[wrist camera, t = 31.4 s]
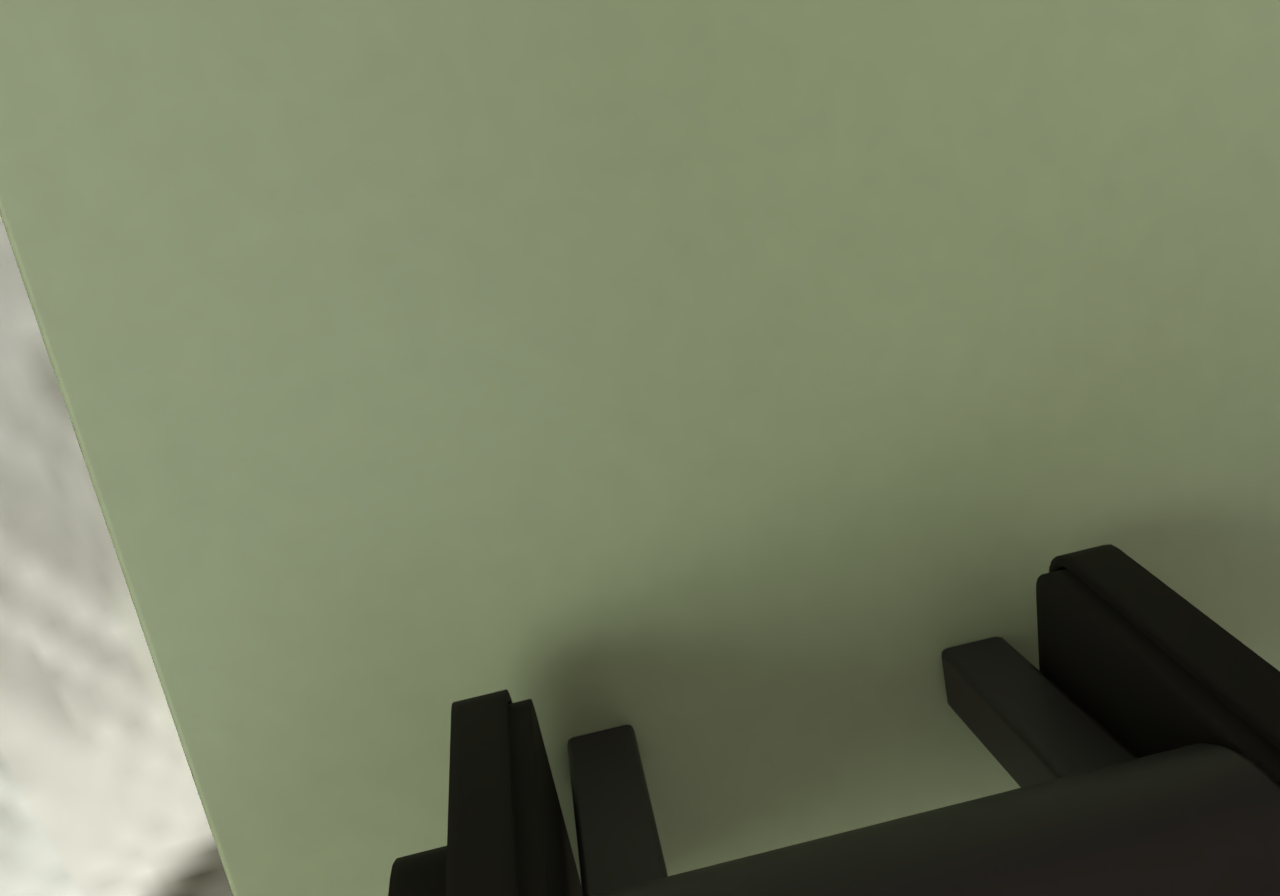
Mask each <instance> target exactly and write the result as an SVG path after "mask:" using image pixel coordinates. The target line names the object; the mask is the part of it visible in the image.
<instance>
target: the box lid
mask: <svg viewBox="0 0 1280 896" xmlns="http://www.w3.org/2000/svg"><path fill="white" fill-rule="evenodd" d="M0 215H1V218H2V220H3V223H4V226H5V229H6V232H7V235H8V238H9V241H10V244H11V247H12V250H13V253H14V256H15V259H16V261H17V264H18V267H19V270H20V273H21V276H22V279H23V282H24V285H25V288H26V291H27V294H28V297H29V299H30V302H31V305H32V308H33V311H34V314H35V317H36V320H37V323H38V326H39V329H40V332H41V335H42V337H43V340H44V343H45V346H46V349H47V352H48V355H49V358H50V361H51V364H52V367H53V370H54V373H55V375H56V378H57V381H58V384H59V387H60V390H61V393H62V396H63V399H64V402H65V405H66V408H67V411H68V413H69V416H70V419H71V422H72V425H73V428H74V431H75V434H76V437H77V440H78V443H79V446H80V449H81V451H82V454H83V457H84V460H85V463H86V466H87V469H88V472H89V475H90V478H91V481H92V484H93V487H94V489H95V492H96V495H97V498H98V501H99V504H100V507H101V510H102V513H103V516H104V519H105V522H106V525H107V527H108V530H109V533H110V536H111V539H112V542H113V545H114V548H115V551H116V554H117V557H118V560H119V563H120V566H121V568H122V571H123V574H124V577H125V580H126V583H127V586H128V589H129V592H130V595H131V598H132V601H133V604H134V606H135V609H136V612H137V615H138V618H139V621H140V624H141V627H142V630H143V633H144V636H145V639H146V642H147V644H148V647H149V650H150V653H151V656H152V659H153V662H154V665H155V668H156V671H157V674H158V677H159V680H160V682H161V685H162V688H163V691H164V694H165V697H166V700H167V703H168V706H169V709H170V712H171V715H172V718H173V720H174V723H175V726H176V729H177V732H178V735H179V738H180V741H181V744H182V747H183V750H184V753H185V756H186V758H187V761H188V764H189V767H190V770H191V773H192V776H193V779H194V782H195V785H196V788H197V791H198V794H199V796H200V799H201V802H202V805H203V808H204V811H205V814H206V817H207V820H208V823H209V826H210V829H211V832H212V835H213V837H214V840H215V843H216V846H217V849H218V852H219V855H220V858H221V861H222V864H223V867H224V870H225V873H226V875H227V878H228V881H229V884H230V887H231V890H232V893H233V896H388V893H389V883H390V875H391V870H392V865H393V863H394V861H395V860H396V858H399V857H403V856H407V855H411V854H415V853H419V852H423V851H427V850H431V849H435V848H439V847H443V846H447V830H448V798H449V765H450V732H451V707H452V703H453V702H456V701H460V700H464V699H468V698H473V697H477V696H481V695H485V694H489V693H493V692H497V691H502V690H506V689H507V690H508V692H509V694H510V697H511V700H512V703H515V702H519V701H523V700H527V699H531V700H532V702H533V705H534V708H535V711H536V715H537V719H538V723H539V727H540V730H541V734H542V738H543V742H544V746H545V749H546V753H547V757H548V761H549V765H550V768H551V772H552V776H553V780H554V783H555V787H556V791H557V795H558V799H559V802H560V806H561V810H562V814H563V818H564V821H565V825H566V829H567V833H568V837H569V840H570V844H571V848H572V852H573V856H574V859H575V863H576V867H577V871H578V875H579V878H580V882H581V886H582V895H583V896H1280V785H1279V784H1278V783H1277V782H1276V781H1275V780H1274V779H1273V778H1272V777H1271V776H1270V775H1269V774H1268V773H1267V772H1266V771H1265V770H1263V769H1262V768H1261V767H1260V766H1259V765H1257V764H1256V763H1255V762H1253V761H1252V760H1250V759H1249V758H1247V757H1246V756H1244V755H1243V754H1241V753H1239V752H1237V751H1235V750H1233V749H1230V748H1227V747H1224V746H1220V745H1214V744H1206V743H1199V744H1193V745H1189V746H1185V747H1181V748H1177V749H1173V750H1169V751H1165V752H1161V753H1157V754H1153V755H1149V756H1145V757H1141V758H1138V757H1137V756H1136V755H1134V754H1133V753H1132V752H1131V751H1130V750H1129V749H1128V748H1126V747H1125V746H1124V745H1123V744H1122V743H1121V742H1120V741H1119V740H1117V739H1116V738H1115V737H1114V736H1113V735H1112V734H1111V733H1110V732H1108V731H1107V730H1106V729H1105V728H1104V727H1103V726H1102V725H1100V724H1099V723H1098V722H1097V721H1096V720H1095V719H1094V718H1093V717H1091V716H1090V715H1089V714H1088V713H1087V712H1086V711H1085V710H1084V709H1082V708H1081V707H1080V706H1079V705H1078V704H1077V703H1076V702H1074V701H1073V700H1072V699H1071V698H1070V697H1069V696H1068V695H1067V694H1065V693H1064V692H1063V691H1062V690H1061V689H1060V688H1059V687H1057V686H1056V685H1055V684H1054V683H1053V682H1052V681H1051V680H1050V679H1048V678H1047V677H1046V676H1045V675H1044V674H1043V673H1042V672H1041V671H1039V650H1038V627H1037V604H1036V582H1037V579H1038V577H1039V576H1040V575H1042V574H1046V573H1049V567H1050V564H1051V561H1052V560H1053V559H1054V558H1055V557H1056V556H1060V555H1064V554H1068V553H1072V552H1076V551H1080V550H1084V549H1089V548H1093V547H1097V546H1101V545H1109V544H1111V545H1113V546H1115V547H1117V548H1119V549H1120V550H1122V551H1123V552H1124V553H1125V554H1127V555H1128V556H1129V557H1131V558H1132V559H1133V560H1135V561H1136V562H1137V563H1139V564H1140V565H1141V566H1142V567H1144V568H1145V569H1146V570H1148V571H1149V572H1150V573H1152V574H1153V575H1154V576H1156V577H1157V578H1158V579H1159V580H1161V581H1162V582H1163V583H1165V584H1166V585H1167V586H1169V587H1170V588H1171V589H1173V590H1174V591H1175V592H1176V593H1178V594H1179V595H1180V596H1182V597H1183V598H1184V599H1186V600H1187V601H1188V602H1190V603H1191V604H1192V605H1193V606H1195V607H1196V608H1197V609H1199V610H1200V611H1201V612H1203V613H1204V614H1205V615H1207V616H1208V617H1209V618H1210V619H1212V620H1213V621H1214V622H1216V623H1217V624H1218V625H1220V626H1221V627H1222V628H1224V629H1225V630H1226V631H1227V632H1229V633H1230V634H1231V635H1233V636H1234V637H1235V638H1237V639H1238V640H1239V641H1241V642H1242V643H1243V644H1244V645H1246V646H1247V647H1248V648H1250V649H1251V650H1252V651H1254V652H1255V653H1256V654H1258V655H1259V656H1260V657H1261V658H1263V659H1264V660H1265V661H1267V662H1268V663H1269V664H1271V665H1272V666H1273V667H1275V668H1276V669H1277V670H1278V671H1280V0H0Z"/></svg>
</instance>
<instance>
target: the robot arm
mask: <svg viewBox="0 0 1280 896" xmlns="http://www.w3.org/2000/svg"><path fill="white" fill-rule="evenodd" d="M1036 604H1037V627H1038V650H1039V671H1041V672H1042V673H1043V674H1044V675H1045V676H1046V677H1047V678H1048V679H1050V680H1051V681H1052V682H1053V683H1054V684H1055V685H1056V686H1057V687H1059V688H1060V689H1061V690H1062V691H1063V692H1064V693H1065V694H1067V695H1068V696H1069V697H1070V698H1071V699H1072V700H1073V701H1074V702H1076V703H1077V704H1078V705H1079V706H1080V707H1081V708H1082V709H1084V710H1085V711H1086V712H1087V713H1088V714H1089V715H1090V716H1091V717H1093V718H1094V719H1095V720H1096V721H1097V722H1098V723H1099V724H1100V725H1102V726H1103V727H1104V728H1105V729H1106V730H1107V731H1108V732H1110V733H1111V734H1112V735H1113V736H1114V737H1115V738H1116V739H1117V740H1119V741H1120V742H1121V743H1122V744H1123V745H1124V746H1125V747H1126V748H1128V749H1129V750H1130V751H1131V752H1132V753H1133V754H1134V755H1136V756H1137V757H1138V758H1141V757H1145V756H1149V755H1153V754H1157V753H1161V752H1165V751H1169V750H1173V749H1177V748H1181V747H1185V746H1189V745H1193V744H1199V743H1206V744H1214V745H1220V746H1224V747H1227V748H1230V749H1233V750H1235V751H1237V752H1239V753H1241V754H1243V755H1244V756H1246V757H1247V758H1249V759H1250V760H1252V761H1253V762H1255V763H1256V764H1257V765H1259V766H1260V767H1261V768H1262V769H1263V770H1265V771H1266V772H1267V773H1268V774H1269V775H1270V776H1271V777H1272V778H1273V779H1274V780H1275V781H1276V782H1277V783H1278V784H1279V785H1280V671H1278V670H1277V669H1276V668H1275V667H1273V666H1272V665H1271V664H1269V663H1268V662H1267V661H1265V660H1264V659H1263V658H1261V657H1260V656H1259V655H1258V654H1256V653H1255V652H1254V651H1252V650H1251V649H1250V648H1248V647H1247V646H1246V645H1244V644H1243V643H1242V642H1241V641H1239V640H1238V639H1237V638H1235V637H1234V636H1233V635H1231V634H1230V633H1229V632H1227V631H1226V630H1225V629H1224V628H1222V627H1221V626H1220V625H1218V624H1217V623H1216V622H1214V621H1213V620H1212V619H1210V618H1209V617H1208V616H1207V615H1205V614H1204V613H1203V612H1201V611H1200V610H1199V609H1197V608H1196V607H1195V606H1193V605H1192V604H1191V603H1190V602H1188V601H1187V600H1186V599H1184V598H1183V597H1182V596H1180V595H1179V594H1178V593H1176V592H1175V591H1174V590H1173V589H1171V588H1170V587H1169V586H1167V585H1166V584H1165V583H1163V582H1162V581H1161V580H1159V579H1158V578H1157V577H1156V576H1154V575H1153V574H1152V573H1150V572H1149V571H1148V570H1146V569H1145V568H1144V567H1142V566H1141V565H1140V564H1139V563H1137V562H1136V561H1135V560H1133V559H1132V558H1131V557H1129V556H1128V555H1127V554H1125V553H1124V552H1123V551H1122V550H1120V549H1119V548H1117V547H1115V546H1113V545H1111V544H1109V545H1101V546H1097V547H1093V548H1089V549H1084V550H1080V551H1076V552H1072V553H1068V554H1064V555H1060V556H1056V557H1055V558H1054V559H1053V560H1052V561H1051V564H1050V567H1049V573H1046V574H1042V575H1040V576H1039V577H1038V579H1037V582H1036ZM388 896H583V895H582V886H581V882H580V878H579V875H578V871H577V867H576V863H575V859H574V856H573V852H572V848H571V844H570V840H569V837H568V833H567V829H566V825H565V821H564V818H563V814H562V810H561V806H560V802H559V799H558V795H557V791H556V787H555V783H554V780H553V776H552V772H551V768H550V765H549V761H548V757H547V753H546V749H545V746H544V742H543V738H542V734H541V730H540V727H539V723H538V719H537V715H536V711H535V708H534V705H533V702H532V700H531V699H527V700H523V701H519V702H515V703H512V700H511V697H510V694H509V692H508V690H507V689H506V690H502V691H497V692H493V693H489V694H485V695H481V696H477V697H473V698H468V699H464V700H460V701H456V702H453V703H452V707H451V732H450V765H449V798H448V830H447V846H443V847H439V848H435V849H431V850H427V851H423V852H419V853H415V854H411V855H407V856H403V857H399V858H396V860H395V861H394V863H393V865H392V870H391V875H390V883H389V893H388Z"/></svg>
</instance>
